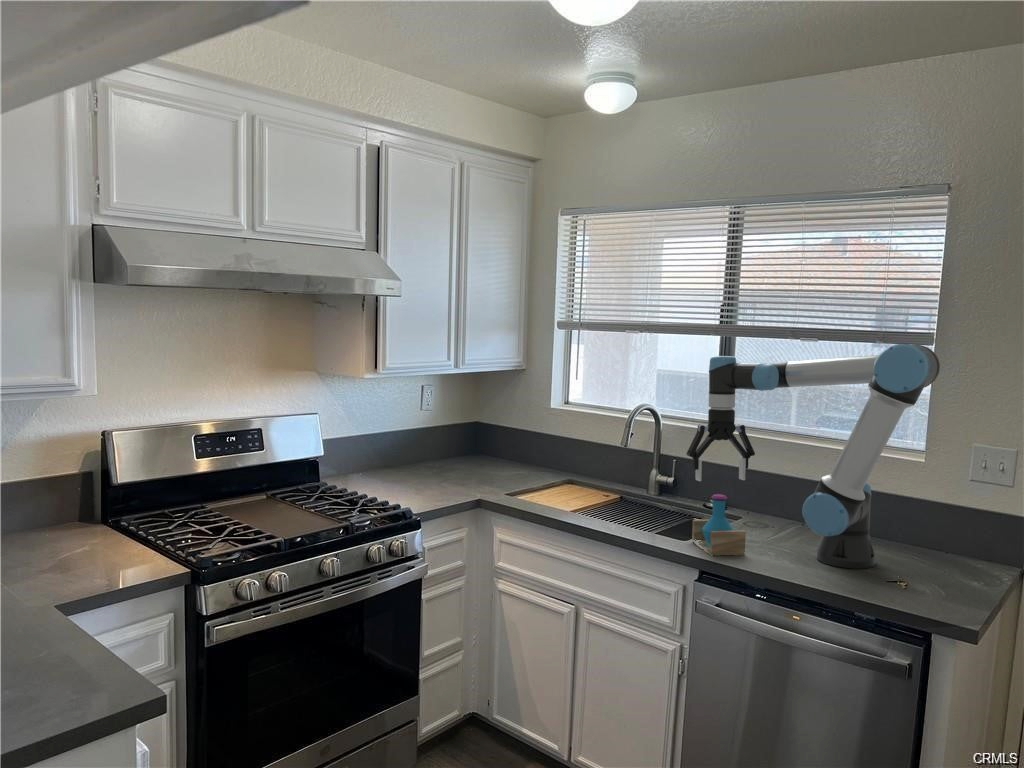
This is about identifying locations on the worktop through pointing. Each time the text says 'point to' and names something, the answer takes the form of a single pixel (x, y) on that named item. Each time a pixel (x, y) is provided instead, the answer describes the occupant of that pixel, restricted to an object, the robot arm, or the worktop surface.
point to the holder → (720, 540)
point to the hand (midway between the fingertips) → (720, 480)
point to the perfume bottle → (716, 518)
